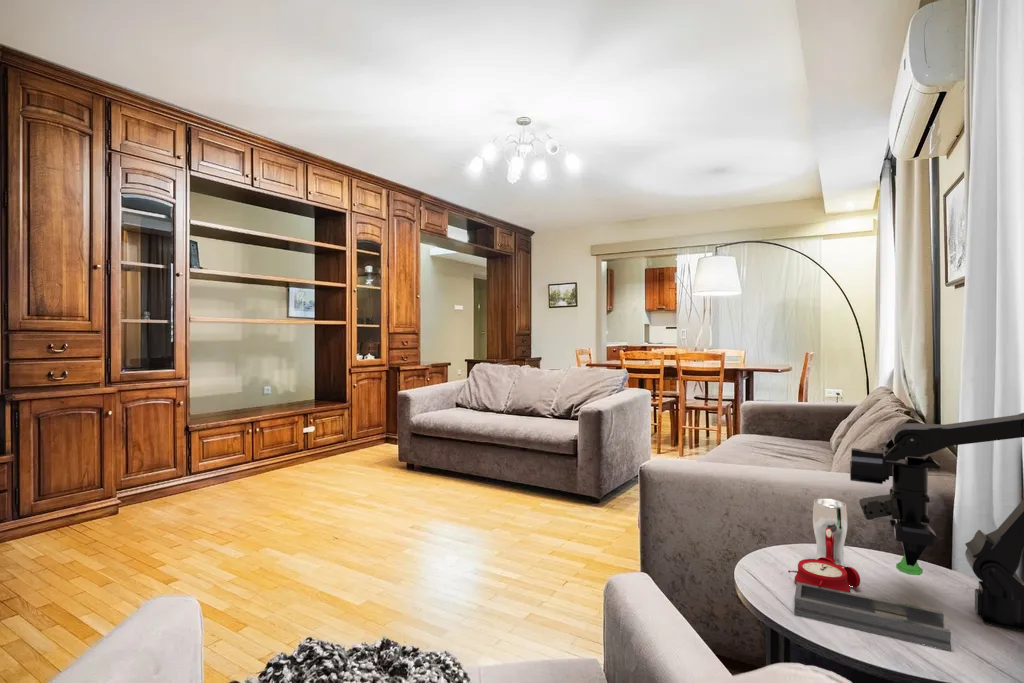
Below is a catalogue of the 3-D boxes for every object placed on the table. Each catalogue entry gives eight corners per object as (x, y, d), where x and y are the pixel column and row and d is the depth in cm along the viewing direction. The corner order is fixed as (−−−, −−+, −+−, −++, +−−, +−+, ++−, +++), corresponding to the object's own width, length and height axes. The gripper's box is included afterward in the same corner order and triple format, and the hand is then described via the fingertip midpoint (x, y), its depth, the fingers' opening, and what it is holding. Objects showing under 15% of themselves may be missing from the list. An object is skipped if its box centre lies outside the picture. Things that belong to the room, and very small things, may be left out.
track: (941, 625, 99) (941, 609, 99) (951, 651, 91) (951, 634, 91) (796, 594, 112) (796, 580, 111) (794, 614, 104) (794, 599, 104)
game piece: (895, 563, 110) (896, 535, 110) (922, 569, 108) (922, 540, 108) (896, 571, 107) (896, 542, 107) (923, 577, 104) (923, 547, 104)
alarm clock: (780, 565, 116) (823, 539, 122) (784, 592, 117) (827, 564, 123) (826, 586, 107) (870, 556, 113) (830, 614, 108) (874, 583, 114)
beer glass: (834, 575, 120) (834, 509, 119) (806, 562, 126) (805, 500, 126) (854, 568, 122) (854, 504, 122) (826, 557, 129) (825, 496, 128)
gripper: (859, 471, 119) (859, 539, 120) (864, 494, 103) (864, 573, 104) (922, 477, 113) (921, 549, 114) (937, 503, 97) (936, 586, 98)
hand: (909, 563), depth 107 cm, fingers closed on game piece, 2 cm apart
